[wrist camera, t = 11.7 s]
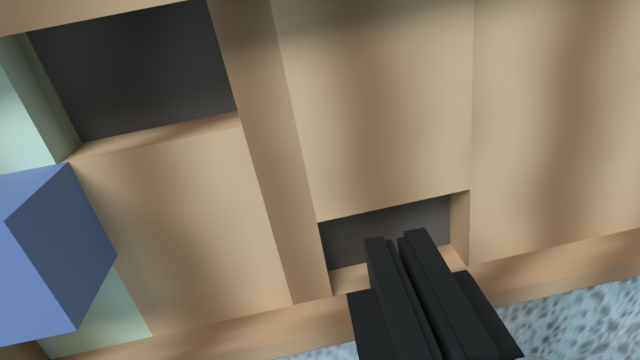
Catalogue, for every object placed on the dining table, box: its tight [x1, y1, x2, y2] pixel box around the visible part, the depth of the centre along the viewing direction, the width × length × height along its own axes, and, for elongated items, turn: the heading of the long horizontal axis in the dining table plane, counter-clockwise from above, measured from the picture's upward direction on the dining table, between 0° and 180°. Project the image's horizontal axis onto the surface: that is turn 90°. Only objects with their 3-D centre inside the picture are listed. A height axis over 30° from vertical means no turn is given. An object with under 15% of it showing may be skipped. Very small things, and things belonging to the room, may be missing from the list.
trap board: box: [0, 0, 640, 360], centre depth 15 cm, size 32×16×6 cm, turn 101°
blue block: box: [0, 162, 118, 347], centre depth 13 cm, size 4×4×4 cm
